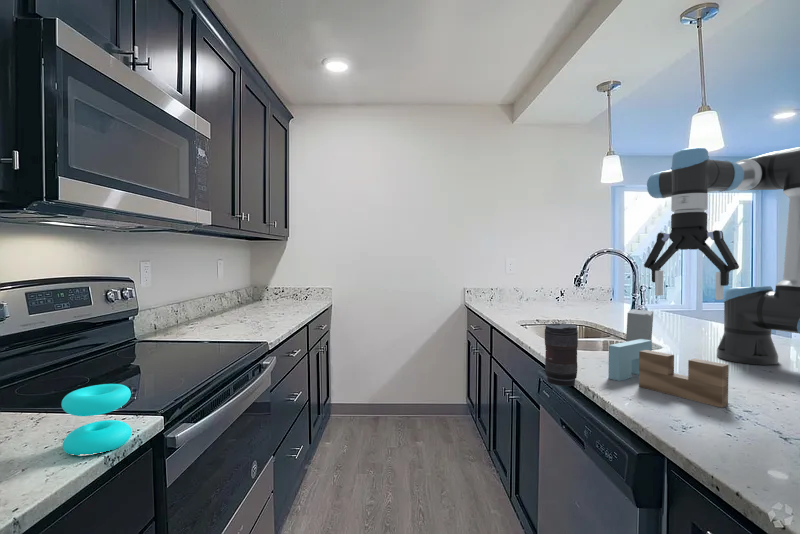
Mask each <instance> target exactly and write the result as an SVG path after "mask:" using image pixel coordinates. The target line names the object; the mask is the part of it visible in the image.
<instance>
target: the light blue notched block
mask: <svg viewBox="0 0 800 534" xmlns="http://www.w3.org/2000/svg"><path fill="white" fill-rule="evenodd" d="M643 350H650V351H653V339H652V340H646V339H638V340H633V341H628V342H626V341H623V342H619V343H614V344H613V343H612V344H608V374H607V375H608V379H610V380H613V381H618V382H621V381H626V380H628V379H632V374H635V375H638V376H639V351H643Z"/></svg>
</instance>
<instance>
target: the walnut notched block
mask: <svg viewBox="0 0 800 534" xmlns="http://www.w3.org/2000/svg"><path fill="white" fill-rule="evenodd" d="M687 364H688V366H687V367H688V368H687V369H688V371H687V372H688V373H687V374H688V375H685V374H678V373H675V354H672V353H667V352H666V353H665V352H662V351H661V352H660V351H655V350H652V351H650V350H643V351H639V375H638V387H639V388H642V389H648V390H651V391H654V392H655V391H656V392H659V393H662V394H663V393H664V394H667V395H670V396H674V397H679V398H682V399H687V400H690V401H695V402H698V403H702V404H707V405H710V406H714V407H718V408H721V409H722V408H725V407H727V406H729V371H730V369H729V368H730V367H729V366H730V365H729V364H727V363H721V362H716V361H709V360H706V359H705V360H704V359H699V358H692V359H688V363H687Z"/></svg>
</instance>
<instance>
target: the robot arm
mask: <svg viewBox="0 0 800 534" xmlns="http://www.w3.org/2000/svg"><path fill="white" fill-rule="evenodd" d="M671 161H672V162H671V167H670V169H669V170H668V169H667V170H665V171H663V170H662V171H661V170H660V171H659V172H655V173H653V174H651V175H650V176H649V177H648V179H647V181H646V190H647V193H648V194H649V196H650V197H652V198H654V199H666V198H670V197H671V205H670V206H671V208H670V209H671V212H673V213H672V214H671V215H670V230H671V231H670V233H666V232H658V233H657V236H656V242H655V243H654V245H653V247H652V249H651V251H650V253H649V255H648V256H647V258H646V261H645V262H644V264H643V267H644V268H646V269H649V270H651V281H652V283H654V295H655V296H657V297H658V296H659V297H660V296H663V295H664V270H663V269H662V270H661V268H662V267H663V266H664V265H665V264H666V263H667V262H668V261H669V260H670V259H671V258H672V257H673V256H674V255H675V253H676V252H678V251H679V250H691V251H692V250H693V251H694V250H695V251H696V250H699V251H700V252H701V253H702V254H703V255H705V256H706V258H707V259H708V260H709V261H710V262H711V263H712V264H713V265H714V266H715V267H716V268H717V269H718V270H719V271H716V272H715V300H717V301H720V300H721V301H722V300H723V303H724V304H723V305H724V307H723V310H724V311H723V312H724V313H723V315H724V316H723V318H724V319H723V321H724V322H723V334H722V337H721V339H720V342H719V344H718V347H717V349H716V357H718V358H719V359H721V360H725V361H728V362H729V361H730V362H734V363H739V364H740V363H741V364H747V365H759V366H760V365H761V366H762V365H763V366H766V365H767V366H771V365H773V366H774V365H777V364H779V354H778V352H777V349H776V347H775V343H774V341H773V339H772V331H779V332H785V333H791V334H792V333H793V334H799V335H800V146H797V147H792V148H787V149H782V150H775V151H772V152H768V153H764V154H761V155H757V156H753V157H751V158H744V159H740V160H738V161H736V162H734V161H733V162H732V161H730V160H719V159H710V155H709V151H708V149H707V148H705V147H689V148H683V149H680V150H678V151H675V152H674V153H673V154H672V159H671ZM734 190H736V191H737V190H738V191H741V192H742V191H775V190H783V191H782V193H783V194H784V195H785V196H786V197H788V199H789V202H788V212H787V213H788V215H787V216H788V217H787V225H786V226H787V228H786V238H785V248H784V249H785V253H784V263H783V275H782V280H780V281H779V282H778V283H776V284H775V290H774V289H773V287H772V286H771V285H759V286H758V285H757V286H743V287H741V286H740V287H729V288H727V289H726V290H725V286H726V287H727V286H728V285H729V284H730V282H729V281H730V273H731V271H734V270H738V269H739V268H740V265H739V264H738V263H739V262H738V261H737V260H736V258H735V257H734V255H733V253H732V251H731V250H730V248H729V246H728V244H727V242H726V241H725V240H724V232H723V231H722V230H717V229H716V230H713V231H708V213H707V212H706V210H708V197H709V196H708V192H709V193H710V192H721V193H722V192H729V191H734ZM709 238H710V239H711V240H712V241H713V242H714V244H715V246H716V247H717V250H718V251H719V253H720V254H721V256H722V258H723V259H722V258H720V257H719V256H718V254H716V253H715V251H714V250H712V248H711V247H710V246H709V244H708V243H706V241H707V240H708V239H709ZM669 239H670V241H671V244H670V245H668V247H667V249H666V250H665V251H664V252H663V253H662V254H661V252H662V250H663V249H664V246H665V245H666V242H668V240H669ZM660 254H661V255H660ZM659 256H660V257H659ZM658 257H659V258H658ZM724 261H725V262H724Z"/></svg>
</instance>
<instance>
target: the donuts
mask: <svg viewBox="0 0 800 534" xmlns="http://www.w3.org/2000/svg"><path fill="white" fill-rule="evenodd" d="M131 396H132V393H131V389H130V388H129V386H127V385H124V384H121V383H103V384H102V383H101V384H95V385H89V386H86V387H82V388H78V389H76V390H72V391H71V392H69V393H67V394H66V395H65V396H64V397H63V399H62V400H61V409H62V410H63V411H64V412H65V413H66V414H68V415H71V416H76V417H93V416H99V415H104V414H108V413H111V412H114V411H116V410H118V409H120V408H122V407H123V406H124V405H126V404H127V403H128V401H130V399H131ZM132 433H133V429H132V427H131V426H130V424H128V423H126V422H125V421H121V420H117V419H107V420H98V421H93V422H90V423H86V424H83V425H81V426H79V427H76V428H75V429H74V430H72V431H71V432H69V433H68V434H67V435H66V436H65V438H64V439H63V441H62V449H63V451H64V453H66V454H67V453H68V454H67V455H69V454H74V455H80V454H93V453H100V452H106V451H109V452H111V451H110V450H112V451H114V450H116V449H118V448H120V447H123V445H124V446H125V444H126V443H127V442H129V440H130V438H131V436H132ZM106 453H107V452H106Z"/></svg>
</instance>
